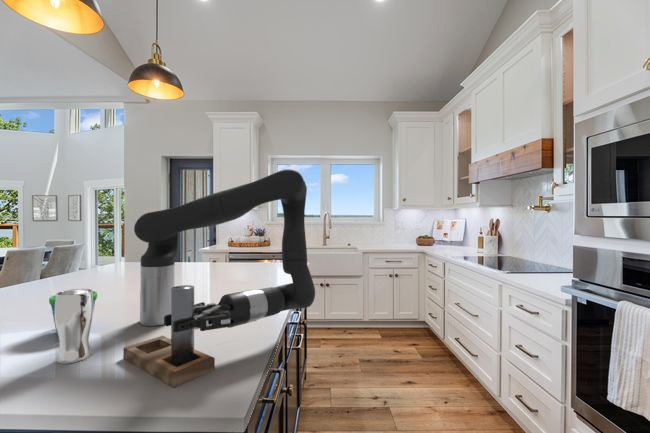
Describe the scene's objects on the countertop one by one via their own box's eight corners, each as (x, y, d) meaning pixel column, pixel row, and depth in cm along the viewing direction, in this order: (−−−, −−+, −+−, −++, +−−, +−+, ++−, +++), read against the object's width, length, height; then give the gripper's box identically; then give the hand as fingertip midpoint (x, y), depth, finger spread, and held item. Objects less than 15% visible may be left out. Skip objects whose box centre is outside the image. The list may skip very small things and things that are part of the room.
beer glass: (68, 351, 77) (69, 288, 77) (99, 351, 77) (100, 288, 77) (45, 365, 70) (46, 295, 70) (80, 364, 70) (80, 295, 70)
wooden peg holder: (123, 358, 74) (123, 346, 74) (162, 345, 81) (162, 334, 81) (173, 387, 61) (173, 373, 61) (214, 369, 69) (214, 356, 69)
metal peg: (167, 365, 67) (166, 288, 67) (186, 357, 71) (186, 284, 71) (178, 371, 65) (178, 291, 65) (198, 362, 68) (198, 287, 68)
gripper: (229, 286, 83) (157, 298, 71) (260, 297, 73) (182, 313, 61) (229, 316, 83) (157, 333, 71) (260, 330, 73) (182, 353, 61)
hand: (169, 323), depth 66 cm, fingers closed on metal peg, 4 cm apart
